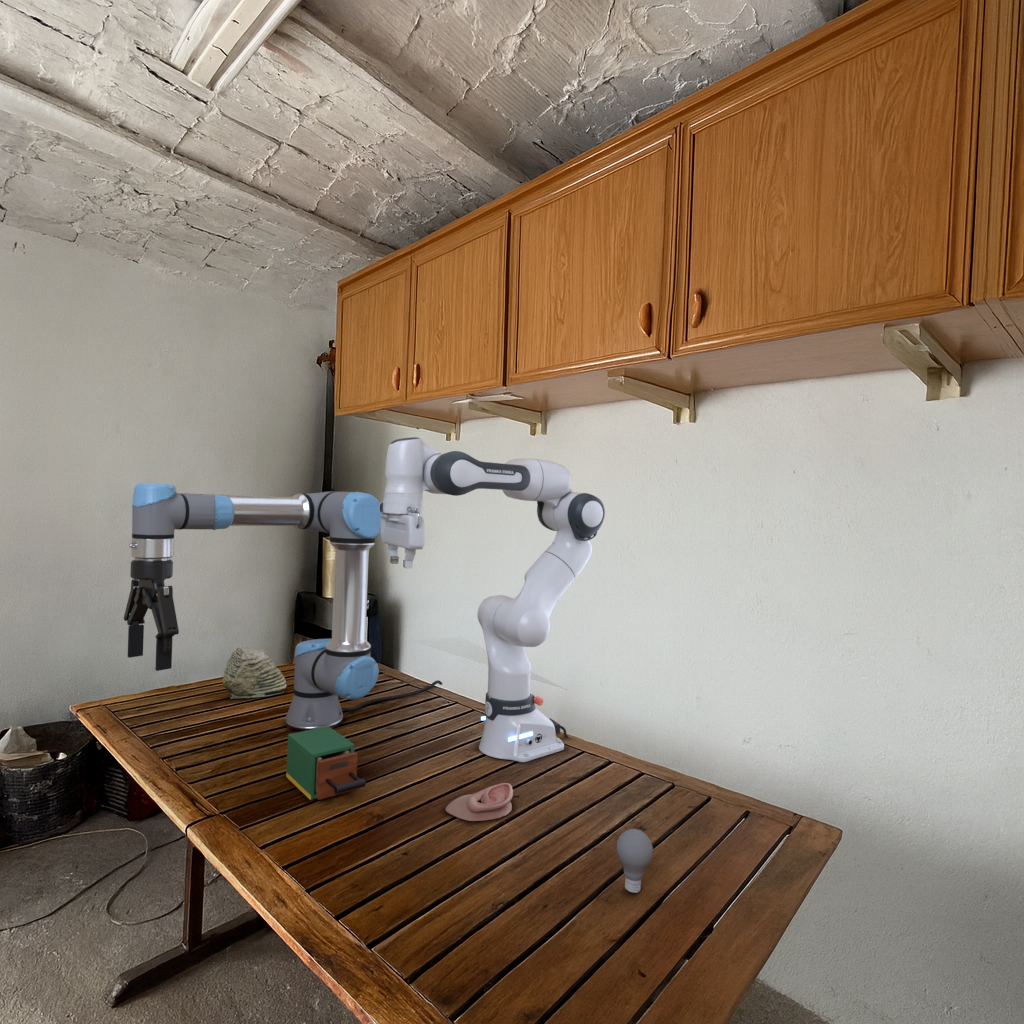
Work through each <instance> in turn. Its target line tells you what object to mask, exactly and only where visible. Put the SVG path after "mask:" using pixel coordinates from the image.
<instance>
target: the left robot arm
mask: <svg viewBox="0 0 1024 1024" xmlns="http://www.w3.org/2000/svg"><path fill="white" fill-rule="evenodd" d="M380 503H381V502H380V501H379V500H378V498H377V497H375V495H373V494H370V493H367V492H363V491H362V492H361V491H337V490H336V491H335V490H333V491H332V490H331V491H321V492H311V493H296V494H294V495H293V496H276V495H275V496H274V495H273V496H271V495H245V494H244V495H243V494H218V493H217V494H216V493H215V494H214V493H213V494H211V493H189V492H187V493H185V492H184V493H183V492H177V488H176V486H175V485H174V484H172V483H152V482H149V483H148V482H141V483H140V482H139V483H137V484H136V485H135V486H134V488H133V494H132V502H131V508H132V509H131V510H132V511H131V512H132V513H131V514H132V515H131V518H132V519H131V520H132V521H131V543H129V544H128V547H129V548H130V549H131V554H130V556H131V558H133V559H132V560H131V561H130V573H129V574H130V578H131V581H130V590H129V591H130V592H129V595H128V599H127V603H126V607H125V610H124V615H123V621H124V622H126V624H127V626H128V629H127V630H128V631H127V658H137V657H143V656H144V639H145V638H144V635H145V634H144V632H145V625H144V624H146V621H145V617H146V615H147V612H148V610H151V613H152V616H153V620H154V623H155V626H156V630H157V634H156V635H155V637H154V638H155V639H156V641H155V665H154V666H155V669H154V670H155V671H156V672H159V671H164V670H171V669H172V664H173V663H172V661H173V637H175V636H176V635H179V632H180V631H179V629H180V628H179V625H178V619H177V613H176V607H175V601H174V591H173V589H174V588H173V585H165V580H167V579H171V578H172V577H173V575H174V561H173V560H172V558H173V557H174V555H175V530H177V531H178V530H180V531H181V530H213V531H215V530H225V529H228V528H230V526H231V527H234V526H237V527H238V526H239V527H243V526H245V527H247V526H249V527H250V526H251V527H252V526H257V527H259V526H261V527H262V526H268V527H269V526H276V527H277V526H281V527H284V526H285V527H288V526H289V527H290V526H291V527H293V528H294V529H296V530H308V531H309V530H310V531H316V532H319V533H325V534H329V544H330V545H331V546H332V547H333V548H334V550H335V552H334V577H333V599H332V600H333V601H332V602H333V603H332V625H331V626H332V627H331V628H332V629H331V638H317V639H308V640H304V641H300V642H299V643H297V645H296V646H295V650H294V655H293V657H294V672H293V673H294V674H293V695H292V696H293V697H292V699H291V702H290V704H289V708H288V711H287V713H286V715H285V726H286V728H287V729H289V730H291V731H294V732H295V731H296V732H302V731H307V730H312V729H317V728H321V727H326V726H329V727H330V728H332V729H333V730H334V729H335V728H337V727H339V726H340V725H342V723H343V722H344V714H343V712H354V711H356V710H359V709H360V708H362V707H364V706H367V705H369V704H372V703H377V702H383V701H389V700H394V699H395V700H396V699H400V698H406V697H410V696H413V695H417V694H419V693H422V692H424V691H426V690H428V689H431V688H433V687H434V686H435V685H437V684H439V685H440V686H442V685H443V681H441V680H435V681H433V682H432V683H430V684H428V685H426V686H423V687H422V688H419V689H416V690H412V691H409V692H405V693H400V694H399V693H398V694H395V695H388V696H383V697H377V698H372V699H367V700H365V701H363V702H361V703H359V704H357V705H355V706H350V707H347V706H344V707H343V706H341V702H340V699H339V698H341V699H342V700H343V699H344V700H348V701H349V700H350V701H357V700H360V699H362V698H364V697H365V696H367V695H368V694H370V692H371V690H372V689H374V687H375V685H376V683H377V682H378V678H379V674H380V672H379V671H380V670H379V669H380V668H379V665H378V662H376V660H375V659H374V657H372V656H371V652H372V649H371V648H372V644H371V643H370V642H369V641H368V640H367V639H366V631H367V607H368V606H367V605H368V604H367V602H368V582H369V581H368V579H369V555H370V550H371V548H372V547H374V545H376V536H378V535H380V534H381V530H380V518H381V514H382V513H380V512H379V504H380ZM429 685H431V686H429Z"/></svg>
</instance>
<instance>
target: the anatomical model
mask: <svg viewBox="0 0 1024 1024" xmlns="http://www.w3.org/2000/svg"><path fill="white" fill-rule="evenodd" d="M513 796H514V789H513V786H512V784H511V783H509V782H502V783H498V784H495V785H492V786H488V787H486V788H484V789H481V790H479V791H477V792H474V793H472V794H465V795H461V796H459V797H456V798H455V799H454V800H452V801H451V802H449V803H448V804H447V805H446V807H445V810H444V811H445V812H446V813H448V814H449V815H451V816H453V817H455V818H457V819H461V820H463V821H467V822H482V821H490V820H496V819H500V818H503V817H505V816H507V815H509V814H510V813H511V812H512V808H513V806H512V802H511V801H512V799H513Z"/></svg>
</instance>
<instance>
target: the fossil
mask: <svg viewBox="0 0 1024 1024" xmlns="http://www.w3.org/2000/svg"><path fill="white" fill-rule="evenodd" d="M222 676H223V677H222V685H223V687H224V688H225V690H226V691H228V693H229V698H230V699H250V698H264V697H271V696H275V695H281V694H284V693H285V691H286V689H287V687H288V686H287V680H286V678H285V676H284V674H283V673H282V672H281V669H279V668H278V667H277V665H276V663H275V662H274V660H273V659H272V658H271V657H270V656H269V655H268V654H267V653H266V652H265V650H264V649H263V648H260V647H258V648H251V647H247V646H246V647H245V646H238V647H237V648H236V649H235V650H233V651H232V653H231V656H230V657H229V659H228V660H227V663H226V666H225V668H224V671H223V675H222Z"/></svg>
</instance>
